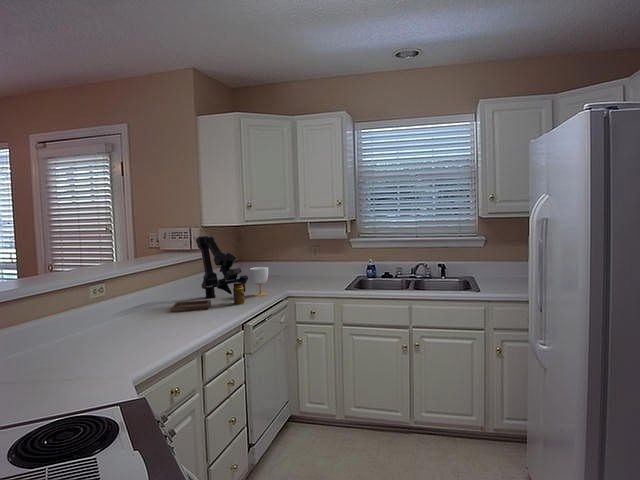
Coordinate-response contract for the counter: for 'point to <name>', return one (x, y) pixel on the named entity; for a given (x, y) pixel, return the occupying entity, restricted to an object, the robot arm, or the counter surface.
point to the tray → (191, 306)
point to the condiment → (238, 294)
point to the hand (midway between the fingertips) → (238, 292)
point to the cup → (259, 277)
